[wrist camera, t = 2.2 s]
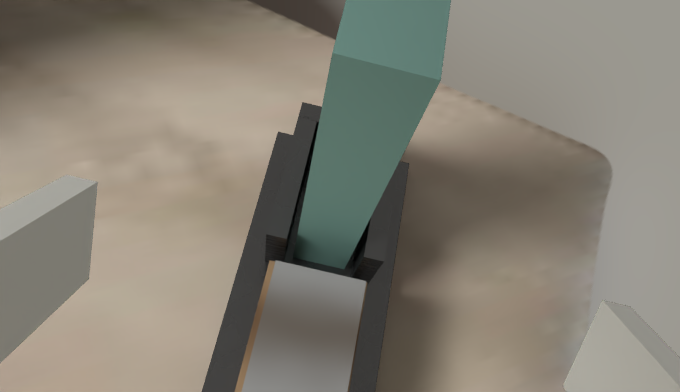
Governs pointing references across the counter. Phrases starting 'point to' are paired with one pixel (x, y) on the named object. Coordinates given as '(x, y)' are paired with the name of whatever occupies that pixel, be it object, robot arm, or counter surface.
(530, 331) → the counter surface
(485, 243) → the counter surface
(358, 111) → the plank
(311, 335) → the offcut top
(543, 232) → the counter surface
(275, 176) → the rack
